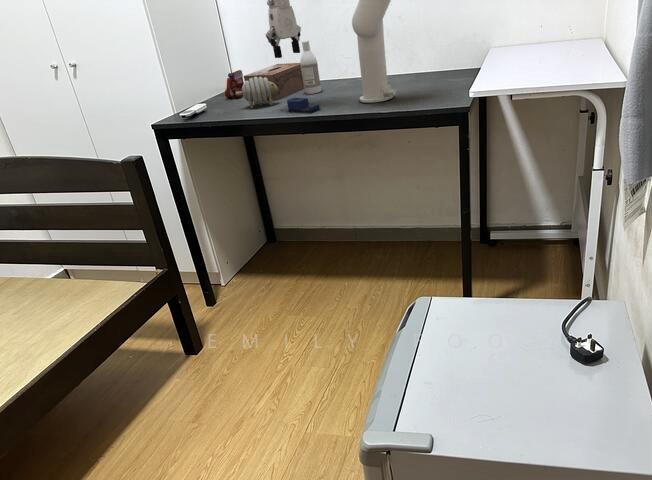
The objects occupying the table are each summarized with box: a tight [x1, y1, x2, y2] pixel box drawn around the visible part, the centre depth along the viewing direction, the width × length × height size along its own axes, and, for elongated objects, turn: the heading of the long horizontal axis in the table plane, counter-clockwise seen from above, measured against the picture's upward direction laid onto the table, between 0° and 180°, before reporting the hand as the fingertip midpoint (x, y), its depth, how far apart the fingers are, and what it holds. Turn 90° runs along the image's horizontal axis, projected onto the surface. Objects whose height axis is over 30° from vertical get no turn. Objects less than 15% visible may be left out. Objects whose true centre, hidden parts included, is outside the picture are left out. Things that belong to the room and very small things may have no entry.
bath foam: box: [299, 40, 322, 95], centre depth 230 cm, size 7×7×20 cm
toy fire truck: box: [224, 69, 245, 99], centre depth 244 cm, size 7×12×10 cm, turn 158°
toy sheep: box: [235, 77, 278, 109], centre depth 221 cm, size 11×17×11 cm, turn 106°
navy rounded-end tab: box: [286, 97, 321, 114], centre depth 206 cm, size 12×5×4 cm, turn 55°
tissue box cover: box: [243, 62, 305, 101], centre depth 240 cm, size 26×14×10 cm, turn 155°
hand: (287, 55), depth 205 cm, fingers open, 9 cm apart
